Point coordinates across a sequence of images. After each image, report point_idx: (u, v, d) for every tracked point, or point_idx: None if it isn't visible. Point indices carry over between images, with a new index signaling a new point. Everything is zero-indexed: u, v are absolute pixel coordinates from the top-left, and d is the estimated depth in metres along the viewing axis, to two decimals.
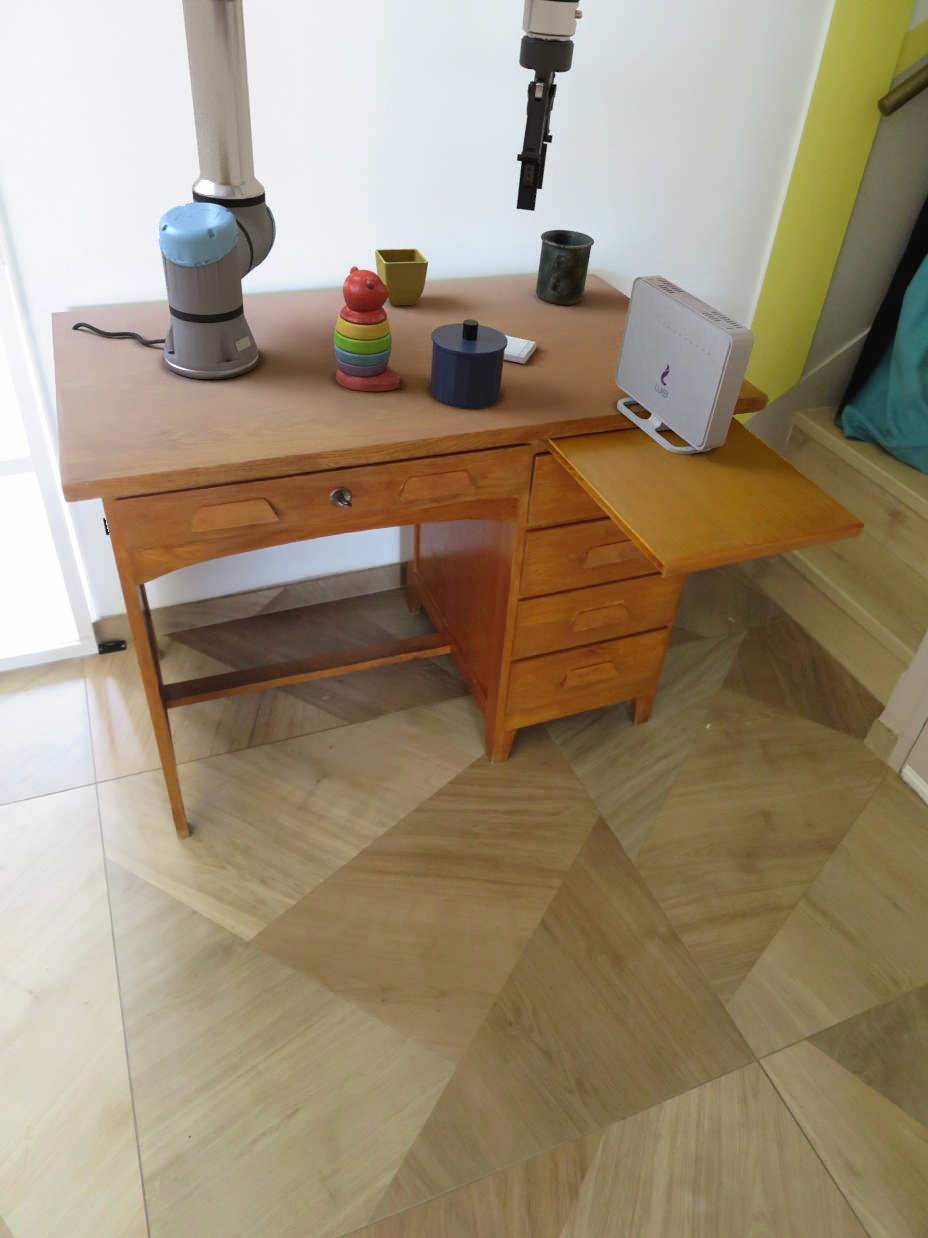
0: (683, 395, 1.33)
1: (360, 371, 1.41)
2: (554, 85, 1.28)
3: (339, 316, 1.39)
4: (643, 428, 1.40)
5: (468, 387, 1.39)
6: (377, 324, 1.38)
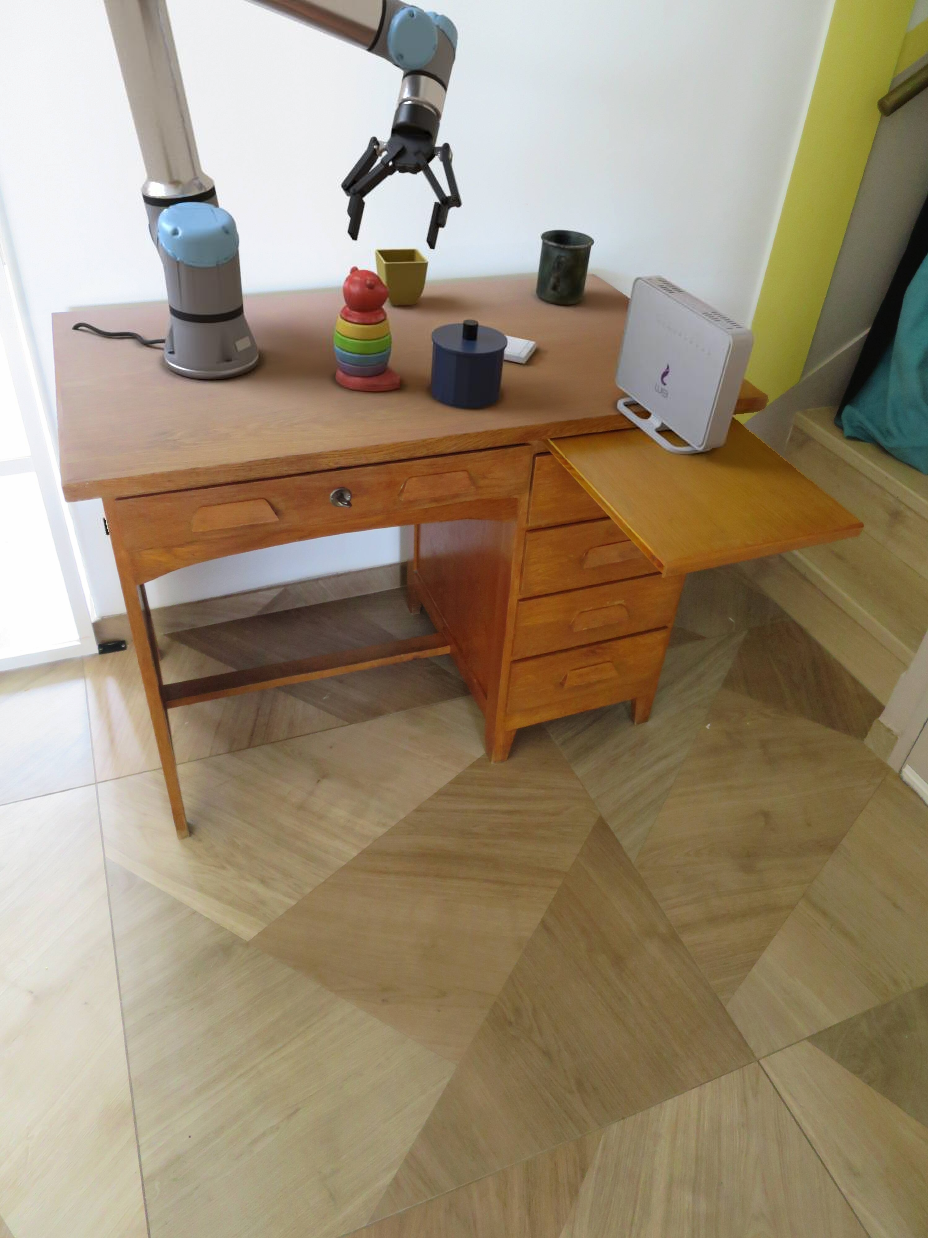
0: (683, 395, 1.33)
1: (360, 371, 1.41)
2: None
3: (339, 316, 1.39)
4: (643, 428, 1.40)
5: (468, 387, 1.39)
6: (377, 324, 1.38)
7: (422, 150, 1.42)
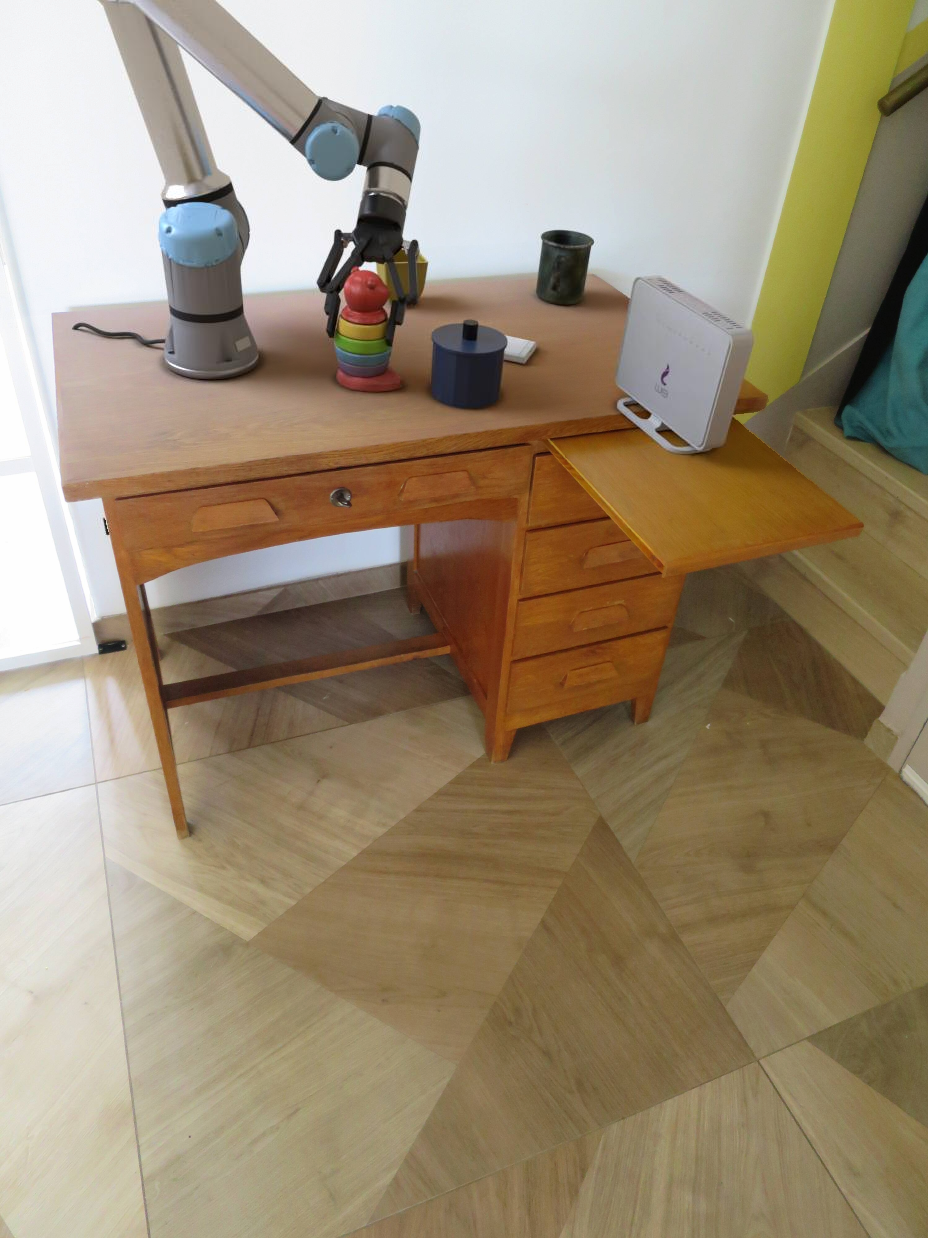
0: (683, 395, 1.33)
1: (361, 371, 1.41)
2: None
3: (340, 316, 1.39)
4: (643, 428, 1.40)
5: (468, 387, 1.39)
6: (378, 325, 1.38)
7: (390, 240, 1.40)
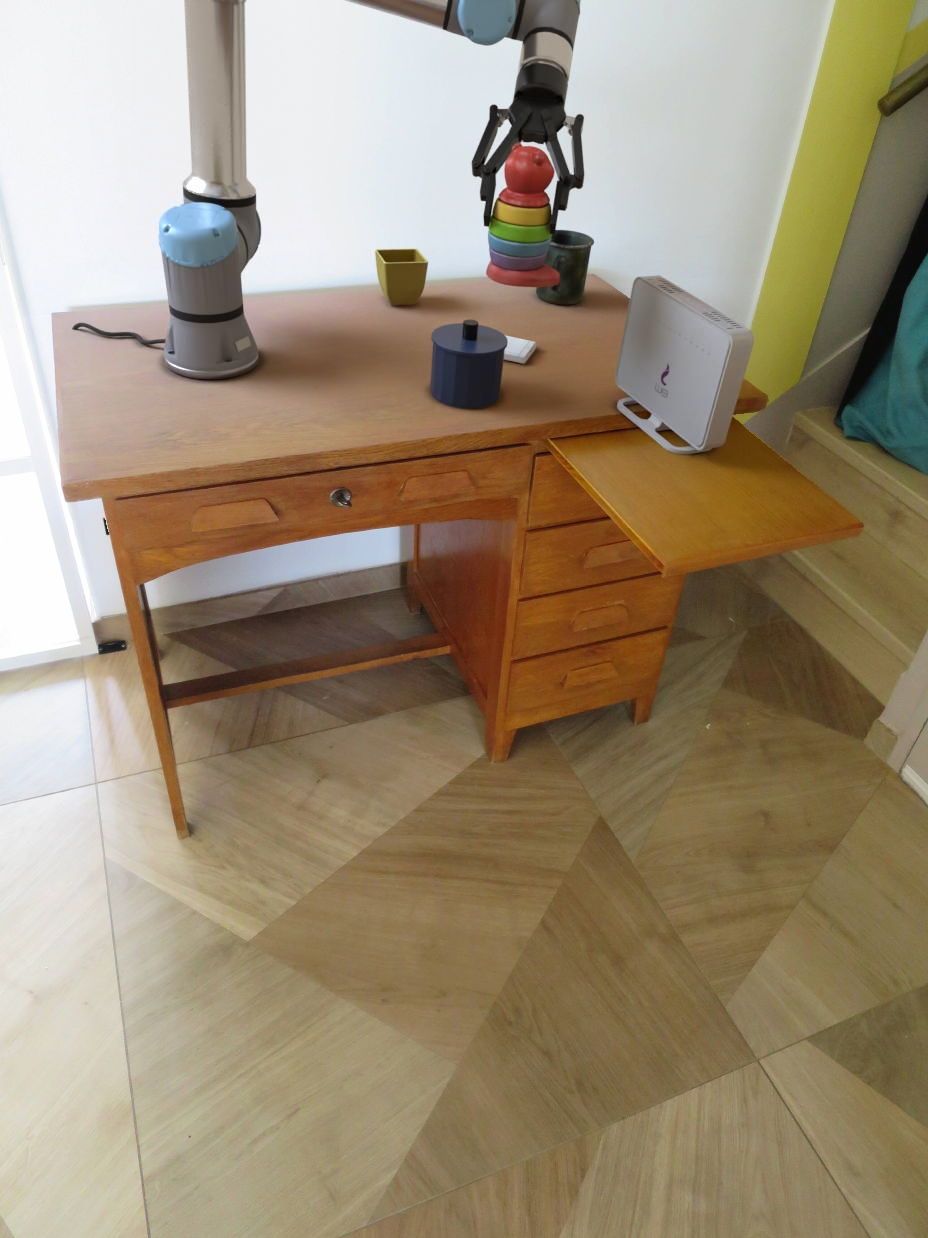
0: (683, 395, 1.33)
1: (519, 263, 1.27)
2: None
3: (498, 200, 1.25)
4: (643, 428, 1.40)
5: (468, 387, 1.39)
6: (542, 208, 1.24)
7: (552, 115, 1.25)
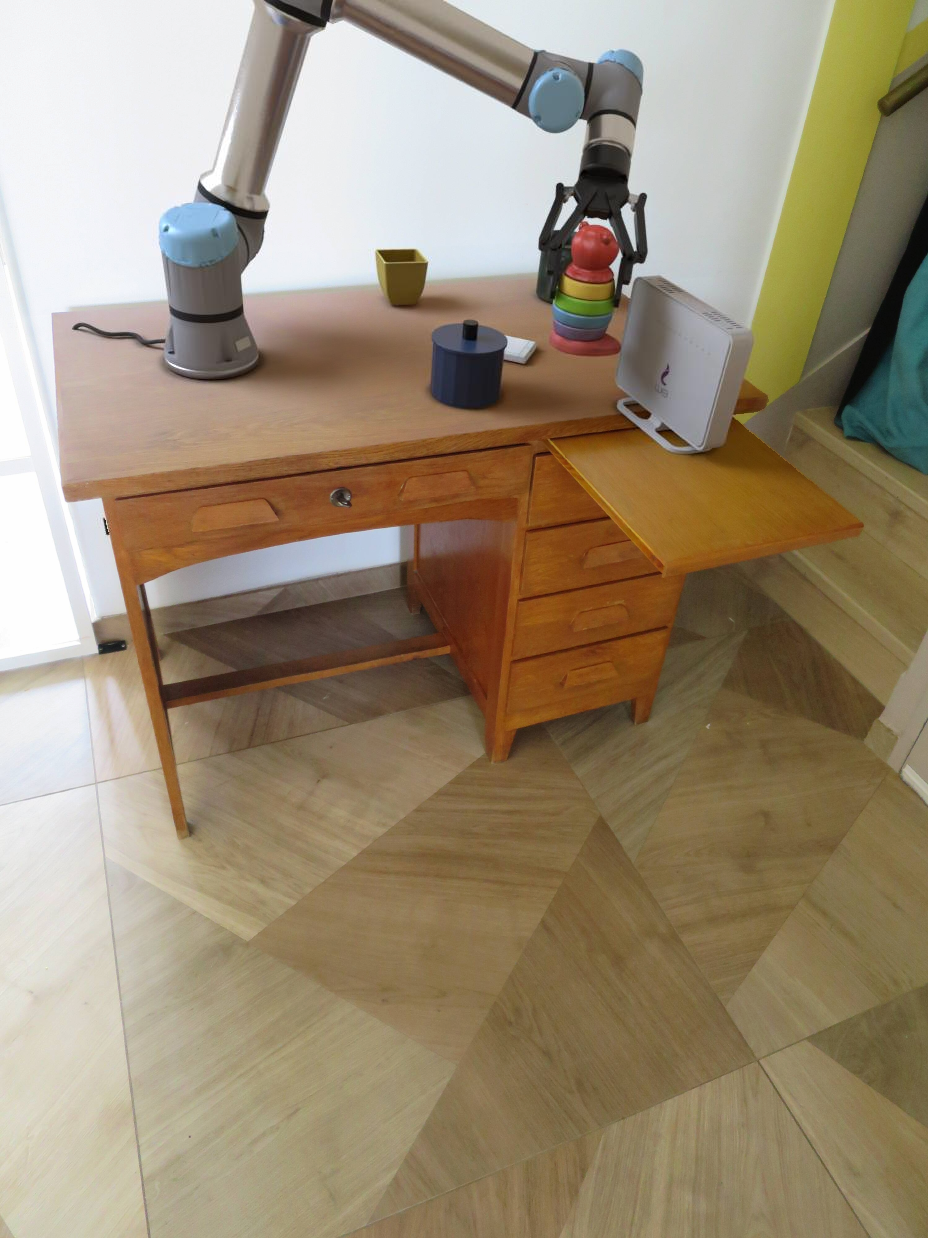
0: (683, 395, 1.33)
1: (583, 334, 1.32)
2: None
3: (564, 275, 1.30)
4: (643, 428, 1.40)
5: (468, 387, 1.39)
6: (607, 284, 1.29)
7: (616, 193, 1.30)
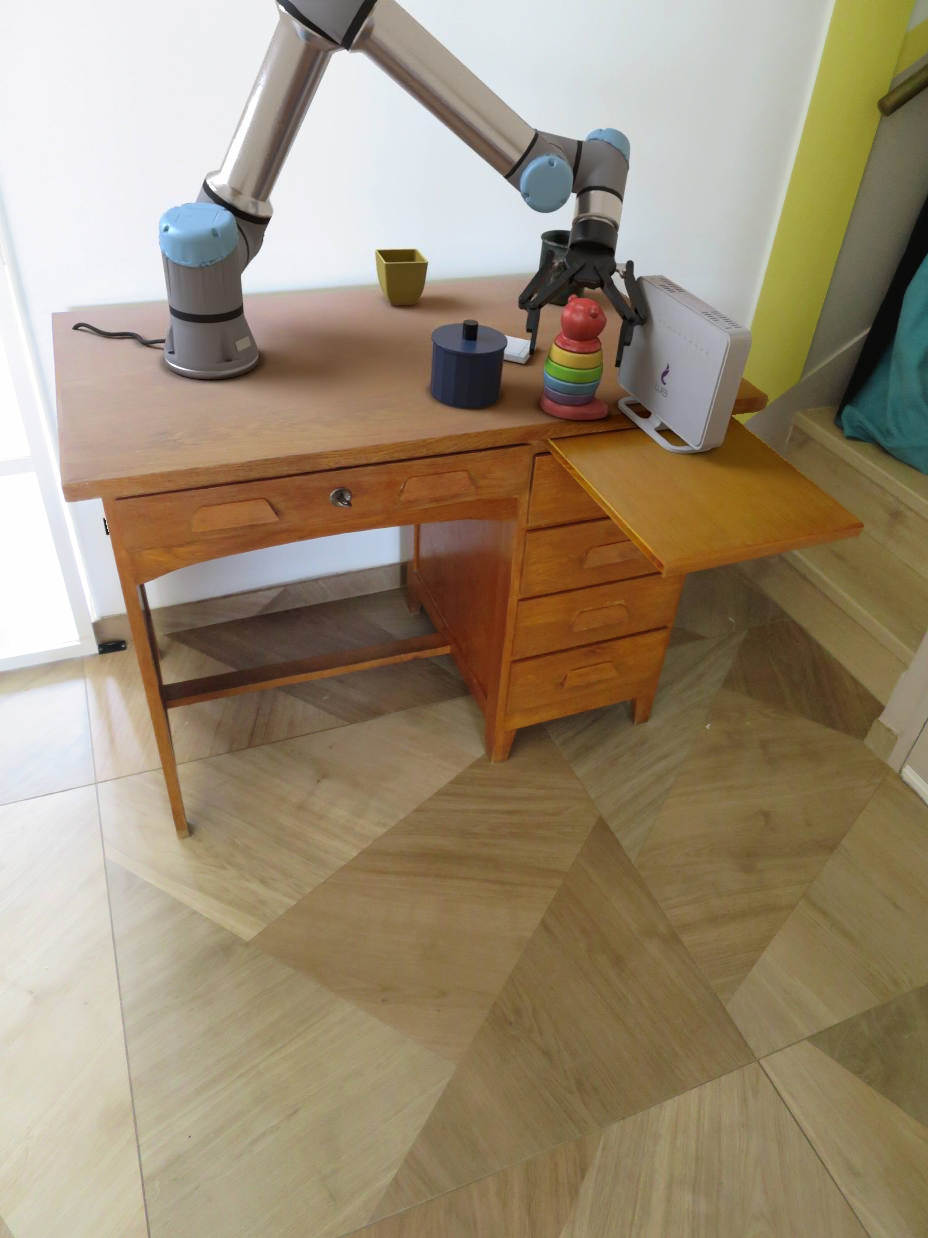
0: (682, 394, 1.33)
1: (572, 400, 1.39)
2: None
3: (554, 345, 1.37)
4: (643, 427, 1.40)
5: (468, 387, 1.39)
6: (595, 353, 1.36)
7: (605, 266, 1.37)
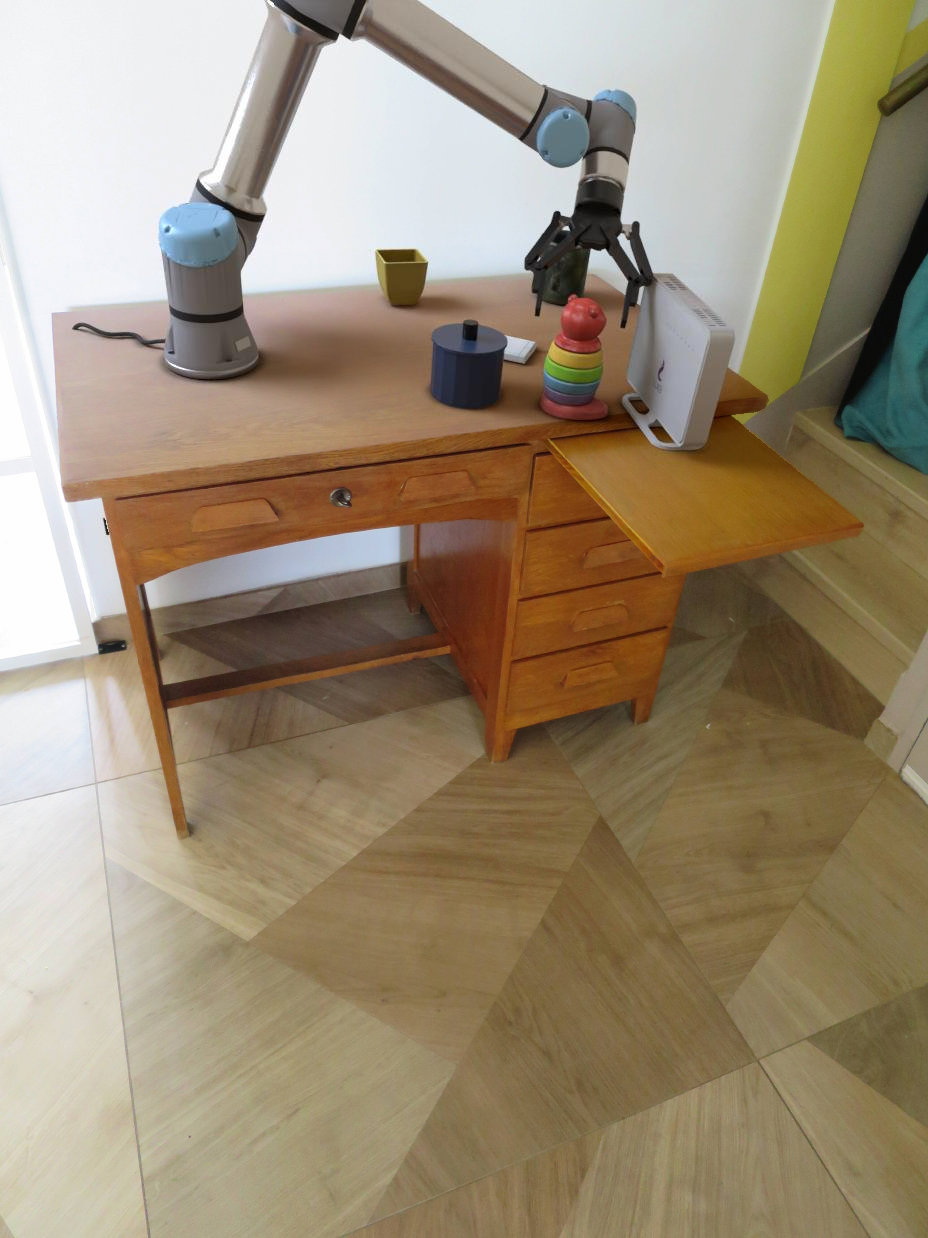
0: (672, 391, 1.33)
1: (572, 400, 1.39)
2: None
3: (554, 345, 1.37)
4: (637, 422, 1.41)
5: (468, 387, 1.39)
6: (595, 353, 1.36)
7: (611, 227, 1.37)
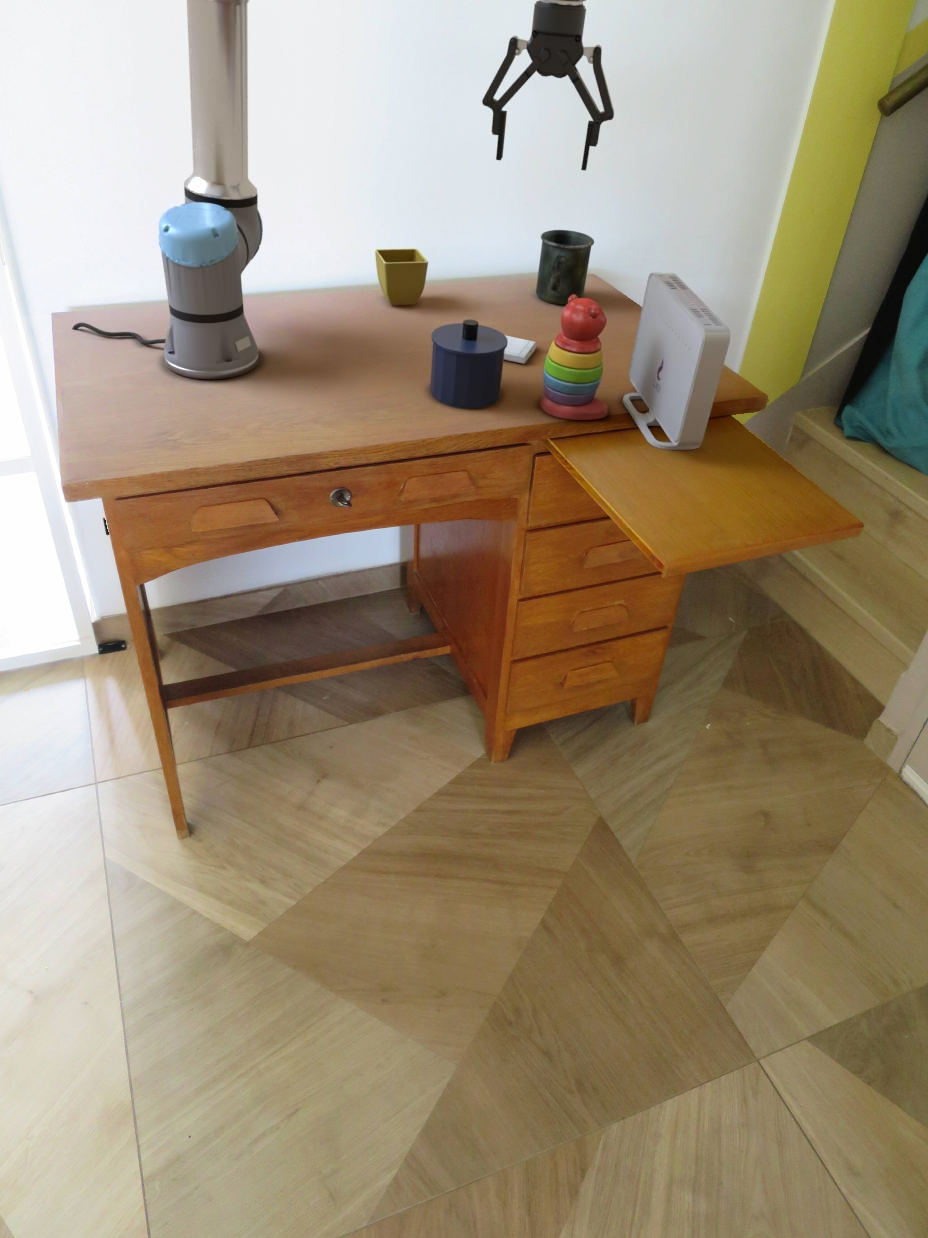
0: (669, 390, 1.34)
1: (572, 400, 1.39)
2: None
3: (554, 345, 1.37)
4: (636, 421, 1.42)
5: (468, 387, 1.39)
6: (595, 353, 1.36)
7: (570, 56, 1.30)
